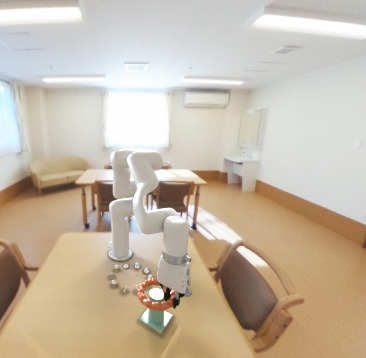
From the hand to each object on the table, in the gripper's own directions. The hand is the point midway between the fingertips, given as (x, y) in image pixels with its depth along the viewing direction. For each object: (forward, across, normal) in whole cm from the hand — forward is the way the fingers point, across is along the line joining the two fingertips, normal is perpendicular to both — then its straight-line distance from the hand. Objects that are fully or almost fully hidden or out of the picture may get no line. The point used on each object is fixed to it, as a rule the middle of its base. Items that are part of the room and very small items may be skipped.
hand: (171, 303), depth 71 cm
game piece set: (+11, +25, -12) cm, 30 cm away
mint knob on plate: (+10, +5, 0) cm, 12 cm away
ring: (-1, +6, 0) cm, 6 cm away
